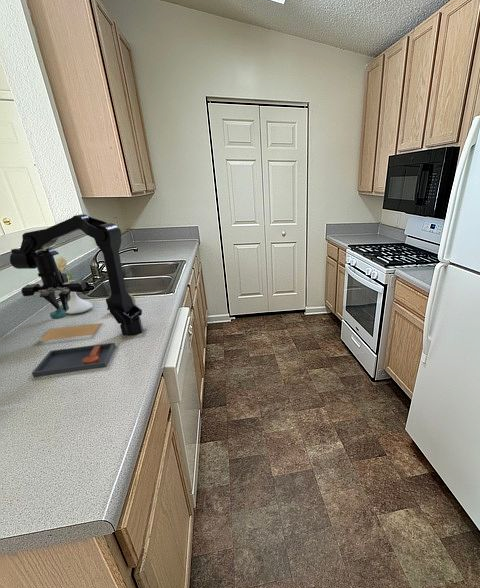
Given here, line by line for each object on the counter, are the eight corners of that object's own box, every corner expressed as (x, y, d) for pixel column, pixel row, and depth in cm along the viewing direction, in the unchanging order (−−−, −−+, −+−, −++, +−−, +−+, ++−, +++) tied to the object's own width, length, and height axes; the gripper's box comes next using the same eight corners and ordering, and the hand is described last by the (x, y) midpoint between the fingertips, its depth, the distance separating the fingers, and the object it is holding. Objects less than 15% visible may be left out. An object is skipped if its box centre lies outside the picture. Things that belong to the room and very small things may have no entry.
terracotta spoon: (106, 350, 113) (104, 344, 112) (98, 365, 103) (96, 360, 103) (92, 351, 112) (90, 346, 111) (82, 368, 102) (80, 362, 101)
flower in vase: (61, 311, 150) (41, 255, 138) (90, 305, 156) (72, 251, 145) (67, 319, 141) (46, 260, 130) (97, 312, 148) (79, 255, 136)
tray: (116, 348, 116) (114, 342, 115) (106, 369, 103) (104, 362, 102) (52, 356, 111) (50, 350, 110) (34, 379, 99) (31, 372, 98)
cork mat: (100, 324, 135) (100, 323, 135) (91, 338, 123) (91, 337, 123) (50, 329, 131) (50, 329, 131) (36, 345, 119) (35, 344, 119)
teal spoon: (73, 308, 127) (71, 303, 126) (63, 318, 117) (61, 313, 117) (60, 309, 126) (58, 304, 125) (49, 320, 116) (47, 314, 116)
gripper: (84, 261, 125) (96, 300, 132) (26, 265, 121) (42, 305, 128) (74, 268, 116) (88, 310, 123) (12, 273, 111) (30, 316, 118)
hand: (62, 310), depth 123 cm, fingers closed on teal spoon, 2 cm apart
